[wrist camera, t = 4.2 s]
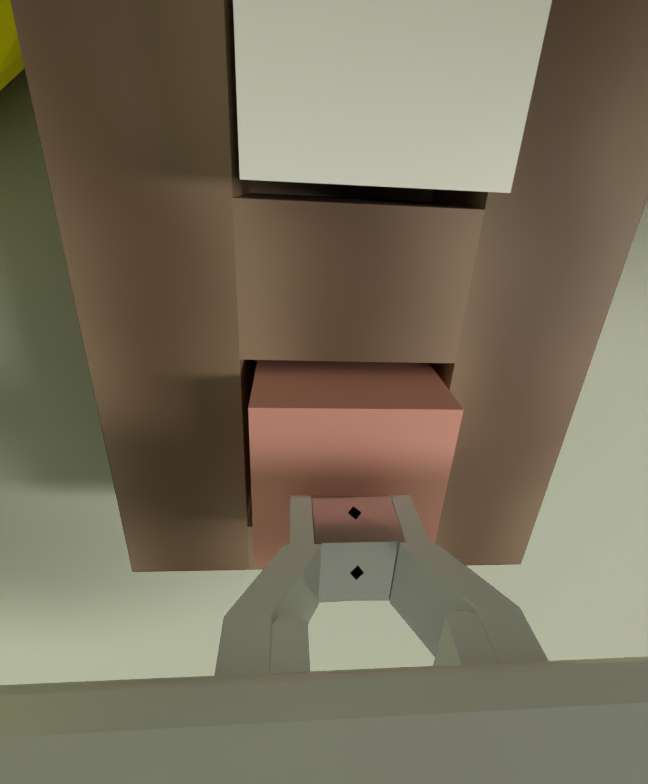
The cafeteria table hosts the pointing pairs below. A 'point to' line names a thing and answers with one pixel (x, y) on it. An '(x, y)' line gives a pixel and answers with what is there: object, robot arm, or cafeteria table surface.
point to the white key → (385, 90)
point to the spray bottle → (8, 46)
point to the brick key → (347, 439)
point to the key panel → (323, 266)
